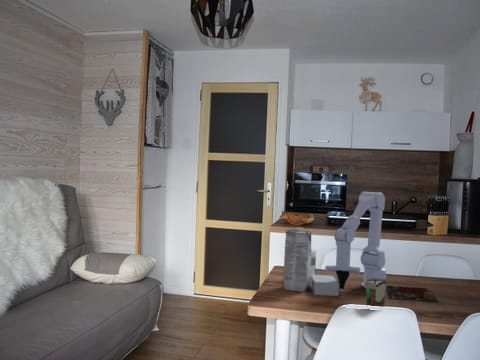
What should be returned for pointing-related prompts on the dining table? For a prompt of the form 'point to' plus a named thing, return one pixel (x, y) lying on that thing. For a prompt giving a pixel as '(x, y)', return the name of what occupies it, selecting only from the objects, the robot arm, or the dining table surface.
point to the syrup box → (313, 263)
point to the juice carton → (297, 260)
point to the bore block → (325, 285)
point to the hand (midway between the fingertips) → (341, 288)
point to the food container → (375, 291)
